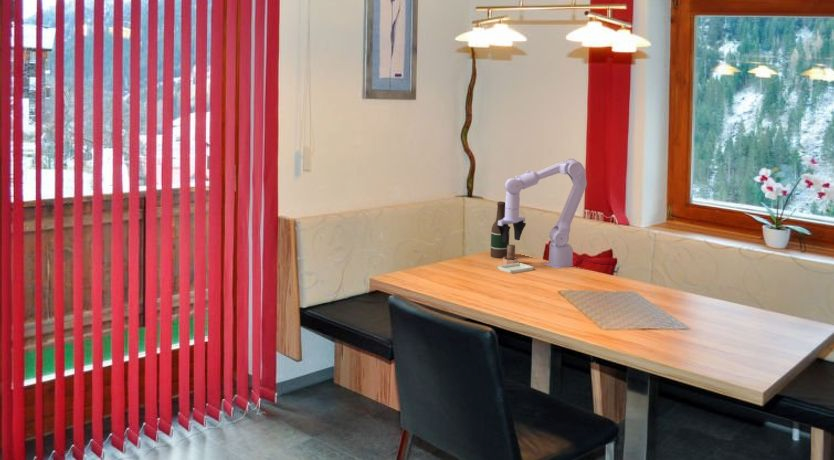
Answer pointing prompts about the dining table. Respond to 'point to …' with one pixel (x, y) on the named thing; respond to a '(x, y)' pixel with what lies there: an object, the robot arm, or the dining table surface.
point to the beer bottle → (498, 235)
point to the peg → (510, 252)
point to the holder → (510, 261)
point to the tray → (515, 268)
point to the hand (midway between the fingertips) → (510, 241)
